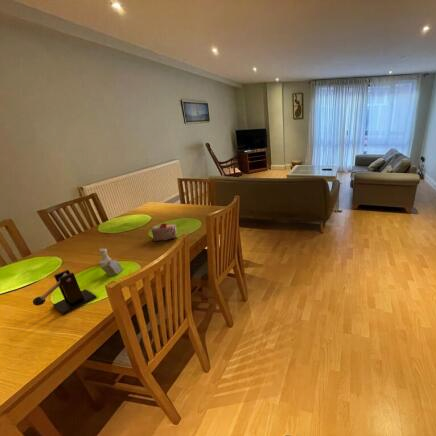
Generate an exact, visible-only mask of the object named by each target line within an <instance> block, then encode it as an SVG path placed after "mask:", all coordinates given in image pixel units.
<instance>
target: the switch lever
mask: <svg viewBox="0 0 436 436" xmlns="http://www.w3.org/2000/svg"><path fill="white" fill-rule="evenodd" d="M65 275H68V274H66V273H64V274H63V275H62V276H61V277H63V276H65ZM59 278H60V277H59ZM60 285H61V284H60V281H59V282H56V283H55V284H54V285H53V286H52V287H50V288H49V289H48V290H47V291H46V292H45V293H44V294H42V295H41V296H36V297H34V299H33V300H32V305H34V306H36V307H37V306H41V305H42V306H43V305H44V304H45V302H46V298H47V297H49V296H50V295H51V294H52V293H53V292H54V291H56V290H57V289H58V288H59V286H60Z"/></svg>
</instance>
